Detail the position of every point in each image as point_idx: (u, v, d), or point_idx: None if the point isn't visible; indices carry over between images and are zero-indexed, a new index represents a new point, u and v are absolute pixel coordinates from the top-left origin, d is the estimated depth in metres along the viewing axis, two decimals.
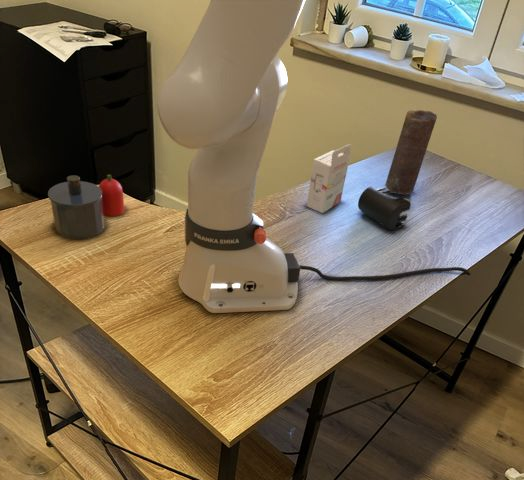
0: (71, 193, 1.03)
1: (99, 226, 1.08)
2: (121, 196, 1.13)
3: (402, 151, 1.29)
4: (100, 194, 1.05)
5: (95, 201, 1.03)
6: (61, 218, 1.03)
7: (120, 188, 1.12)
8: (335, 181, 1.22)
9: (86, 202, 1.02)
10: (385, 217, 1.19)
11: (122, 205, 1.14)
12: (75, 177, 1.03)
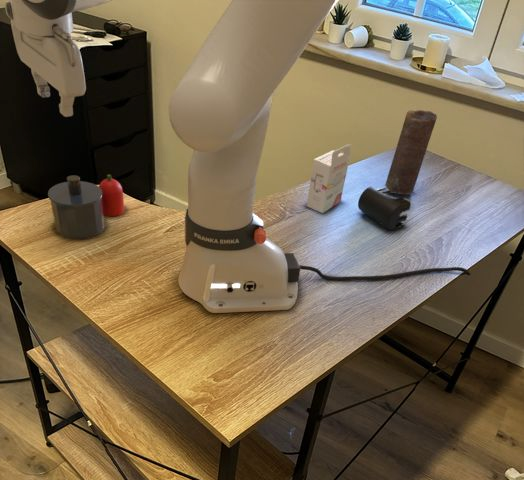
0: (71, 193, 1.03)
1: (99, 226, 1.08)
2: (121, 196, 1.13)
3: (402, 151, 1.29)
4: (100, 194, 1.05)
5: (95, 201, 1.03)
6: (61, 218, 1.03)
7: (120, 188, 1.12)
8: (335, 181, 1.22)
9: (86, 202, 1.02)
10: (385, 217, 1.19)
11: (122, 205, 1.14)
12: (75, 177, 1.03)
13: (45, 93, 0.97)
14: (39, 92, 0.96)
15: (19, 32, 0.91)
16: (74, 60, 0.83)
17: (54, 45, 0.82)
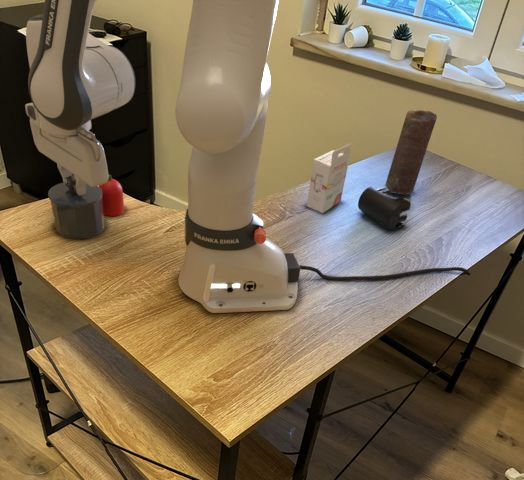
0: (71, 193, 1.03)
1: (99, 226, 1.08)
2: (121, 196, 1.13)
3: (402, 151, 1.29)
4: (100, 194, 1.05)
5: (95, 201, 1.03)
6: (61, 218, 1.03)
7: (120, 188, 1.12)
8: (335, 181, 1.22)
9: (86, 202, 1.02)
10: (385, 217, 1.19)
11: (122, 205, 1.14)
12: None
13: None
14: (65, 183, 1.04)
15: (38, 128, 1.00)
16: (99, 156, 0.92)
17: (80, 145, 0.92)
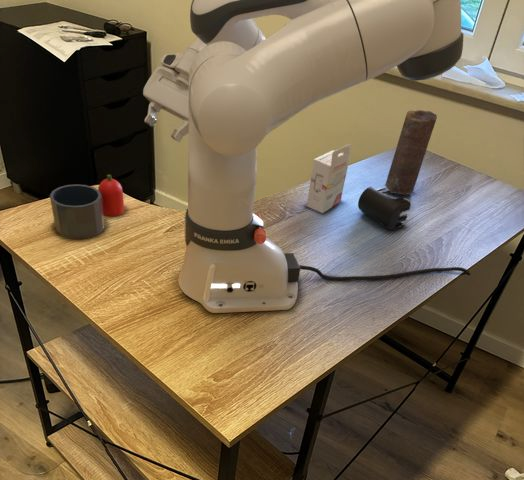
0: None
1: (99, 226, 1.08)
2: (121, 196, 1.13)
3: (402, 151, 1.29)
4: None
5: None
6: (61, 218, 1.03)
7: (120, 188, 1.12)
8: (335, 181, 1.22)
9: None
10: (385, 217, 1.19)
11: (122, 205, 1.14)
12: None
13: (152, 122, 1.16)
14: (148, 119, 1.15)
15: (160, 76, 1.15)
16: None
17: None
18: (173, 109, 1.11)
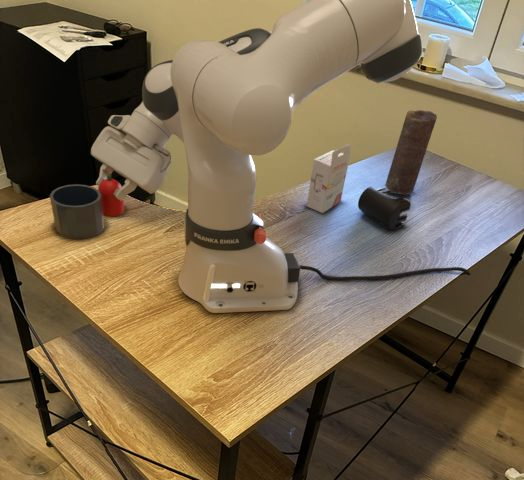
0: None
1: (99, 226, 1.08)
2: None
3: (402, 151, 1.29)
4: None
5: None
6: (61, 218, 1.03)
7: None
8: (335, 181, 1.22)
9: None
10: (385, 217, 1.19)
11: (122, 205, 1.14)
12: None
13: None
14: (99, 182, 1.13)
15: (108, 136, 1.14)
16: (165, 169, 1.07)
17: (155, 153, 1.07)
18: (119, 171, 1.10)
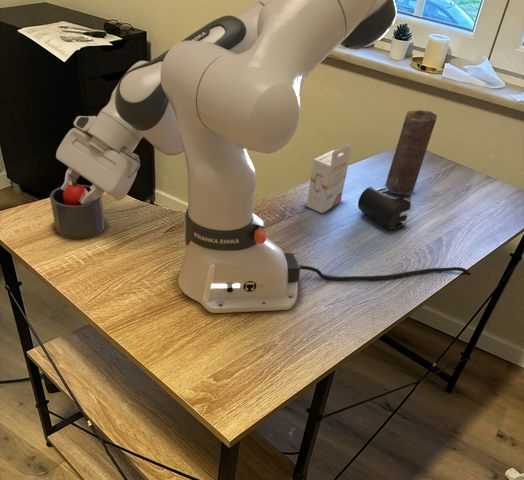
0: None
1: (99, 226, 1.08)
2: None
3: (402, 151, 1.29)
4: None
5: None
6: (61, 218, 1.03)
7: None
8: (335, 181, 1.22)
9: None
10: (385, 217, 1.19)
11: None
12: None
13: None
14: (64, 187, 1.06)
15: (74, 139, 1.06)
16: (133, 174, 0.99)
17: (122, 157, 0.99)
18: (85, 176, 1.02)
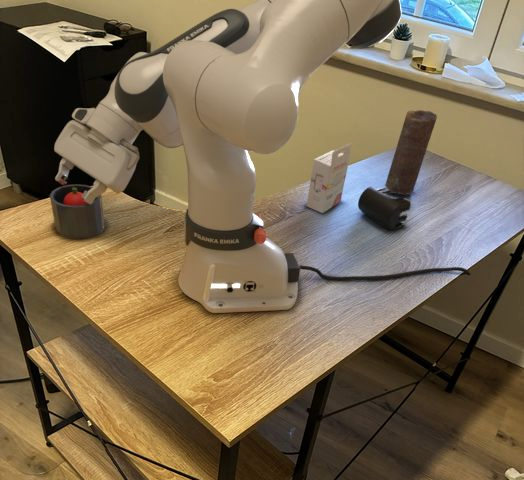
0: None
1: (99, 226, 1.08)
2: None
3: (402, 151, 1.29)
4: None
5: None
6: (61, 218, 1.03)
7: (86, 202, 1.05)
8: (335, 181, 1.22)
9: None
10: (385, 217, 1.19)
11: None
12: None
13: (63, 181, 1.06)
14: (58, 177, 1.05)
15: (72, 131, 1.05)
16: (132, 166, 0.98)
17: (121, 149, 0.98)
18: (84, 169, 1.01)
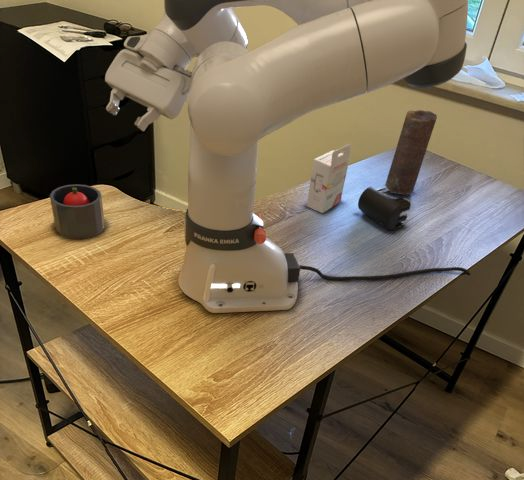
0: None
1: (99, 226, 1.08)
2: None
3: (402, 151, 1.29)
4: None
5: None
6: (61, 218, 1.03)
7: (86, 202, 1.05)
8: (335, 181, 1.22)
9: None
10: (385, 217, 1.19)
11: None
12: None
13: (114, 111, 1.06)
14: (109, 106, 1.05)
15: (123, 60, 1.05)
16: (187, 90, 0.98)
17: (176, 73, 0.98)
18: (137, 95, 1.01)
